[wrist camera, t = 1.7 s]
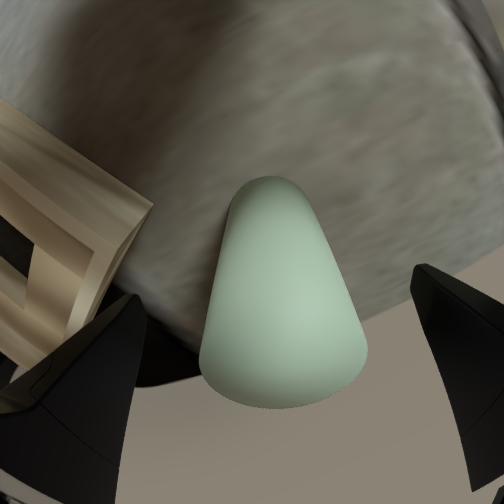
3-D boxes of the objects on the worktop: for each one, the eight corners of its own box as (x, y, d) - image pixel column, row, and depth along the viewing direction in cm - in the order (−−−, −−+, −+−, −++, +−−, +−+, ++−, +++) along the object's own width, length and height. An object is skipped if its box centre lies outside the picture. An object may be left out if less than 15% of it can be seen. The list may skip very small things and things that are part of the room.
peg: (263, 159, 13) (275, 269, 5) (327, 209, 14) (397, 351, 6) (213, 222, 14) (170, 373, 7) (275, 264, 16) (288, 420, 8)
